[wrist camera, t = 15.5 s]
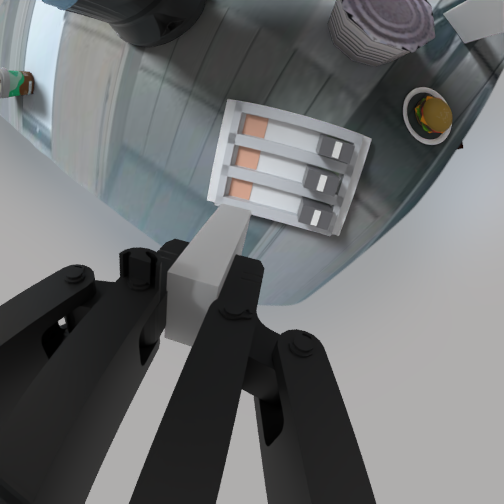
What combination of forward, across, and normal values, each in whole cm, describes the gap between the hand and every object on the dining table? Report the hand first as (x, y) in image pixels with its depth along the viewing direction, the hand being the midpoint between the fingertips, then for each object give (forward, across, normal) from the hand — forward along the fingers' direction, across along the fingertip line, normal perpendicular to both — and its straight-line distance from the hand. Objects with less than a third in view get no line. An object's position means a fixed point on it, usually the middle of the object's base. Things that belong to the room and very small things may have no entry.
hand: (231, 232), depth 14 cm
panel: (+26, +2, 0) cm, 27 cm away
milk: (+27, +24, +36) cm, 51 cm away
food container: (+27, -56, +12) cm, 63 cm away
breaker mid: (+25, +7, 0) cm, 26 cm away
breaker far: (+25, +7, -4) cm, 26 cm away
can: (+27, +8, +24) cm, 37 cm away
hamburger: (+27, +21, +15) cm, 37 cm away
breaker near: (+25, +8, +5) cm, 26 cm away
